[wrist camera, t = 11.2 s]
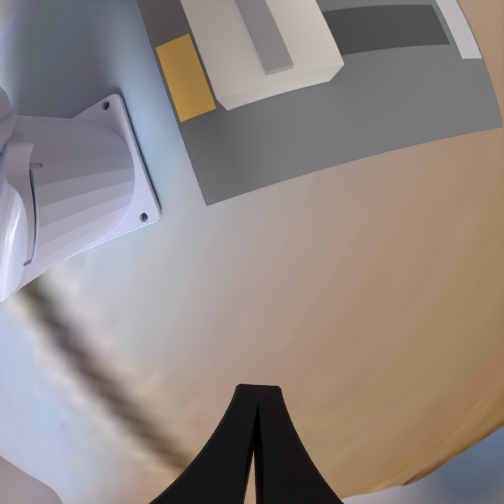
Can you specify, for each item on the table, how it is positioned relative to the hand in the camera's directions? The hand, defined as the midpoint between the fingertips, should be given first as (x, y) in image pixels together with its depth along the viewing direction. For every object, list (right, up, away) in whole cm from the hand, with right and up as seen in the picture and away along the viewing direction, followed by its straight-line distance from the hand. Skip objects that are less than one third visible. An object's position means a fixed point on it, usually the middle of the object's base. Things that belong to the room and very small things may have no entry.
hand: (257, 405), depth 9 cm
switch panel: (+2, +22, +2) cm, 22 cm away
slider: (0, +15, +3) cm, 15 cm away
